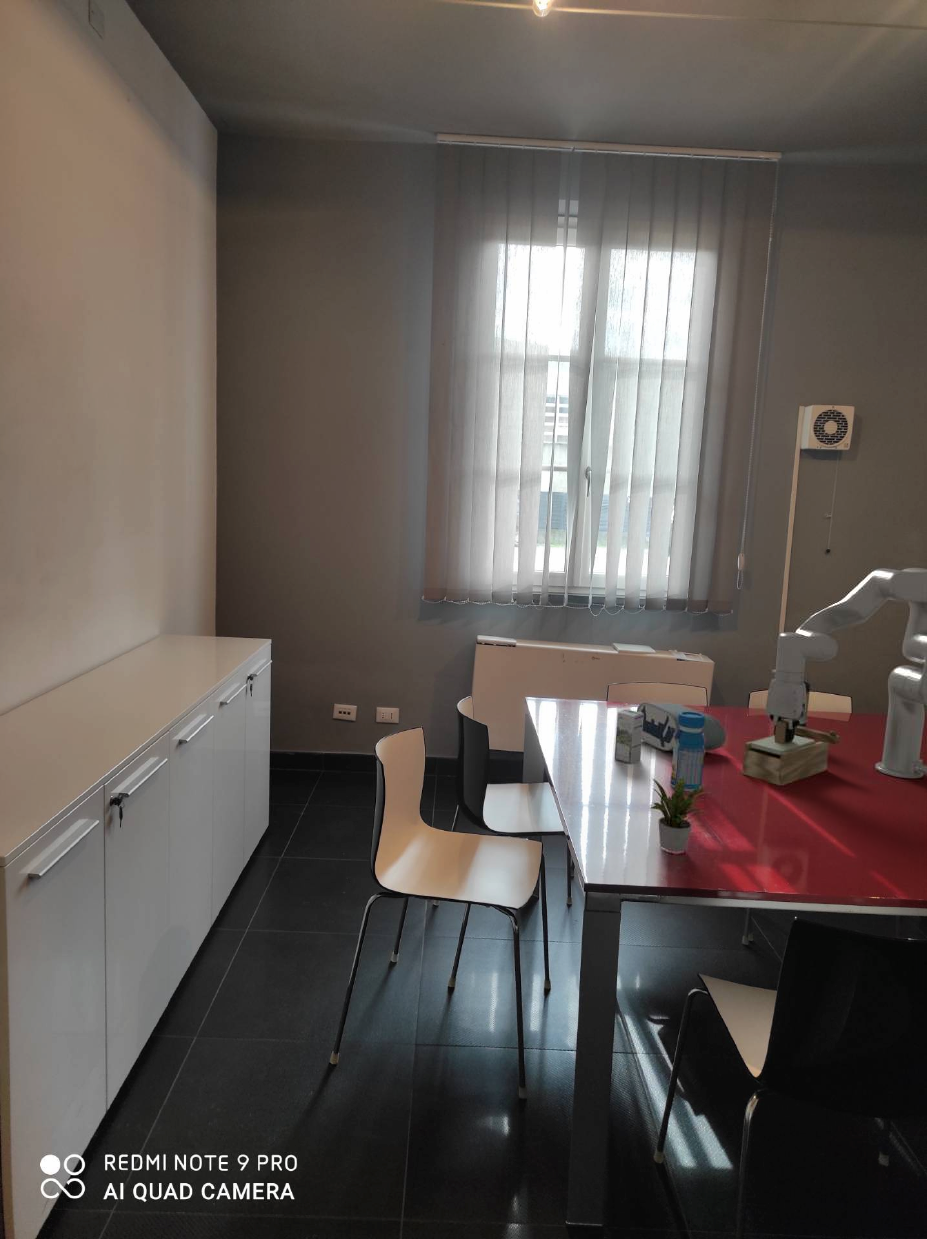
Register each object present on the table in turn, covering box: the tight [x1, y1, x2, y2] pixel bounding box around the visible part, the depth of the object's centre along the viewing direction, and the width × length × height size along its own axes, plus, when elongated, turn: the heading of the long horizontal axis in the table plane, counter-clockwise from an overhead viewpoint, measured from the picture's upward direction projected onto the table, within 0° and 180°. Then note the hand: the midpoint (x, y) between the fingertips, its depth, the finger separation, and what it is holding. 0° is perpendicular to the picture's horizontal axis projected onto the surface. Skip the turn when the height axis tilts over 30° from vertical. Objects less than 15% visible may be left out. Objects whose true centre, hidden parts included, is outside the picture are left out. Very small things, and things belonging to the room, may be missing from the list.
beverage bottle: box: [669, 712, 706, 792], centre depth 228 cm, size 8×8×20 cm
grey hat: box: [636, 702, 727, 752], centre depth 267 cm, size 22×19×13 cm
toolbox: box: [741, 734, 830, 786], centre depth 246 cm, size 12×25×9 cm, turn 130°
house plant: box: [649, 777, 713, 851], centre depth 185 cm, size 14×14×16 cm
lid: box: [751, 719, 816, 755], centre depth 243 cm, size 9×18×7 cm, turn 130°
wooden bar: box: [795, 726, 841, 745], centre depth 252 cm, size 18×2×3 cm, turn 40°
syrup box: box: [613, 708, 644, 765], centre depth 249 cm, size 6×6×14 cm
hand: (783, 739), depth 243 cm, fingers closed on lid, 2 cm apart
